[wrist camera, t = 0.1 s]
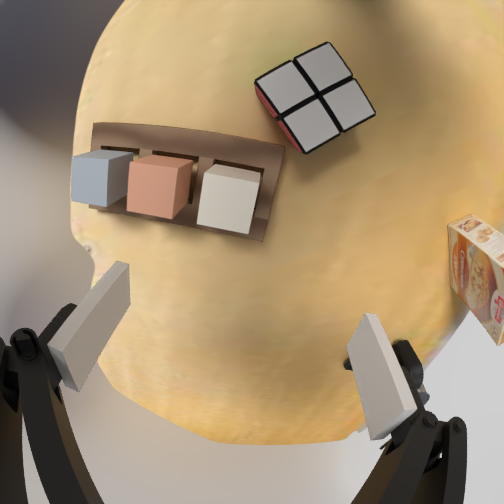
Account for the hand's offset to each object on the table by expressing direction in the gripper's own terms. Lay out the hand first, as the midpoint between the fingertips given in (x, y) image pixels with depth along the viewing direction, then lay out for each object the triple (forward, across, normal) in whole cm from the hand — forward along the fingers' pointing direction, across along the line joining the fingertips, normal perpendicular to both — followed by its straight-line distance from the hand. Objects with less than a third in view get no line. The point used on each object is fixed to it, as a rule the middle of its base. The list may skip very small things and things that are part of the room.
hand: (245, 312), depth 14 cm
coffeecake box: (+28, +42, 0) cm, 50 cm away
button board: (+28, -12, 0) cm, 30 cm away
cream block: (+24, -3, 0) cm, 25 cm away
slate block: (+24, -21, 0) cm, 32 cm away
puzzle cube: (+28, +4, +14) cm, 32 cm away
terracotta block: (+24, -12, 0) cm, 27 cm away
